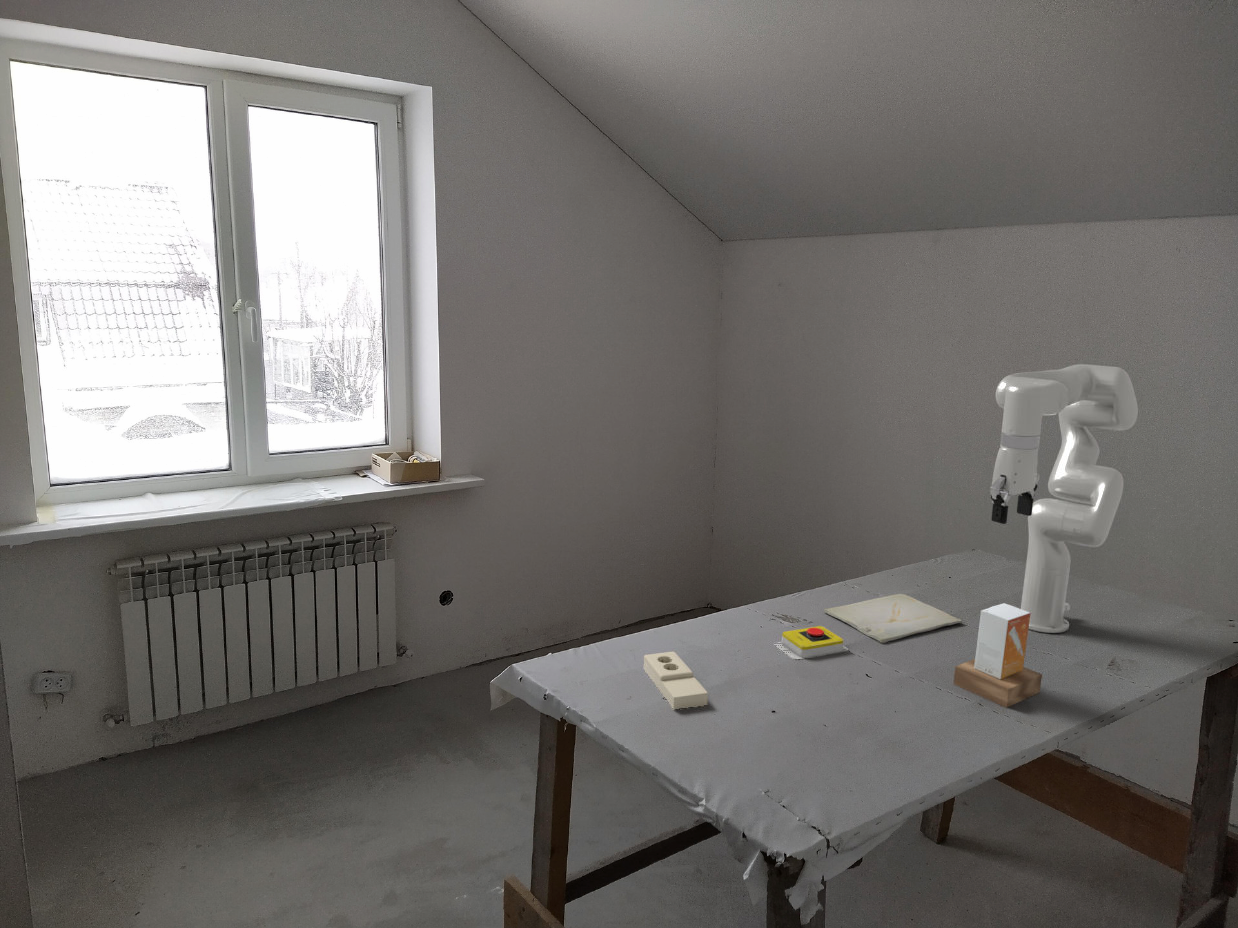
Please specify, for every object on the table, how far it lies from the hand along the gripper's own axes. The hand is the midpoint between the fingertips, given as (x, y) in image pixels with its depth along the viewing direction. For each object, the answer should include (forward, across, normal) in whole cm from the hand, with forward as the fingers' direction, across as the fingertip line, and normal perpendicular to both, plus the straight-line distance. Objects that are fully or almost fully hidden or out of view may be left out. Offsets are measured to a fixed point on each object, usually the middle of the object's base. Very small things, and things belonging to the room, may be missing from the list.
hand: (1011, 518), depth 188 cm
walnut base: (+32, +15, +9) cm, 36 cm away
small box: (+28, +15, +9) cm, 33 cm away
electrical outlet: (+31, +71, -28) cm, 83 cm away
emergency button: (+32, +32, -26) cm, 53 cm away
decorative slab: (+33, +3, -27) cm, 43 cm away
